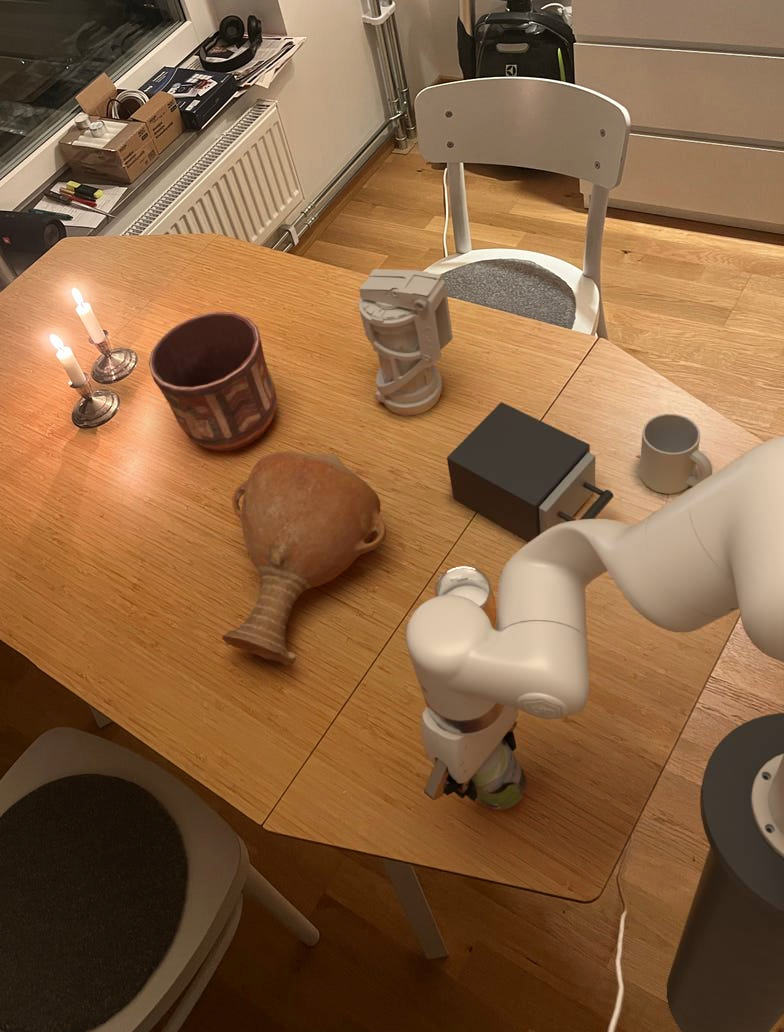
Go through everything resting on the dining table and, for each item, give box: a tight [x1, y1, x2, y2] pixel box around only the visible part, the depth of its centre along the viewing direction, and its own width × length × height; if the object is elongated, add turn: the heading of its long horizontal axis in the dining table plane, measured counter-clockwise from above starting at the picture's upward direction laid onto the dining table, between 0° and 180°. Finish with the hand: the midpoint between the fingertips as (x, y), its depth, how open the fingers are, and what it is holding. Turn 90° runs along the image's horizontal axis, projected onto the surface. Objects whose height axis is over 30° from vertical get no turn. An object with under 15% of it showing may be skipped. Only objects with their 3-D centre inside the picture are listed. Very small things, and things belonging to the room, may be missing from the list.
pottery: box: [148, 311, 278, 452], centre depth 148 cm, size 18×18×18 cm
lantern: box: [358, 268, 454, 417], centre depth 140 cm, size 13×10×25 cm
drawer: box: [538, 452, 614, 534], centre depth 126 cm, size 18×11×8 cm, turn 45°
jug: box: [222, 451, 387, 665], centre depth 124 cm, size 20×19×30 cm
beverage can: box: [470, 737, 527, 810], centre depth 100 cm, size 6×7×12 cm
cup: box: [639, 413, 713, 495], centre depth 125 cm, size 7×10×9 cm
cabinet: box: [446, 401, 591, 543], centre depth 129 cm, size 15×13×10 cm
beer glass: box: [434, 565, 497, 629], centre depth 112 cm, size 7×7×15 cm
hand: (483, 765), depth 99 cm, fingers closed on beverage can, 6 cm apart
